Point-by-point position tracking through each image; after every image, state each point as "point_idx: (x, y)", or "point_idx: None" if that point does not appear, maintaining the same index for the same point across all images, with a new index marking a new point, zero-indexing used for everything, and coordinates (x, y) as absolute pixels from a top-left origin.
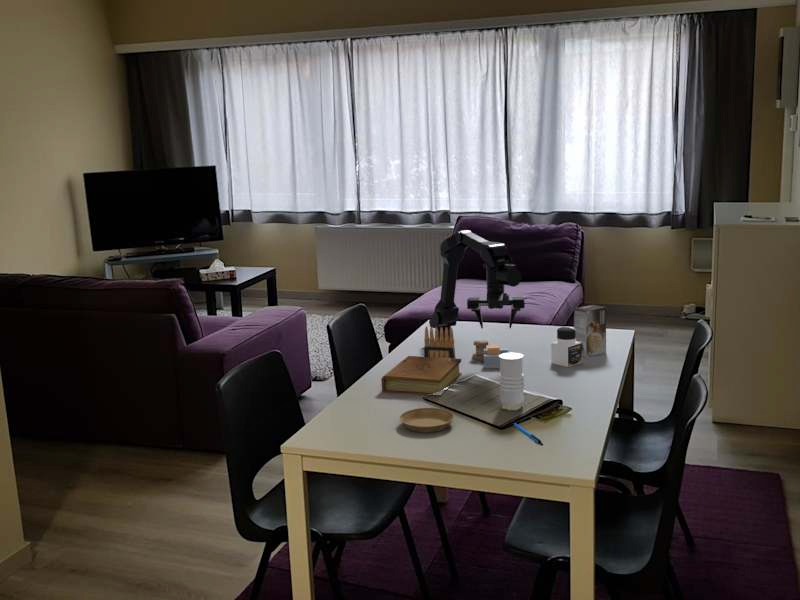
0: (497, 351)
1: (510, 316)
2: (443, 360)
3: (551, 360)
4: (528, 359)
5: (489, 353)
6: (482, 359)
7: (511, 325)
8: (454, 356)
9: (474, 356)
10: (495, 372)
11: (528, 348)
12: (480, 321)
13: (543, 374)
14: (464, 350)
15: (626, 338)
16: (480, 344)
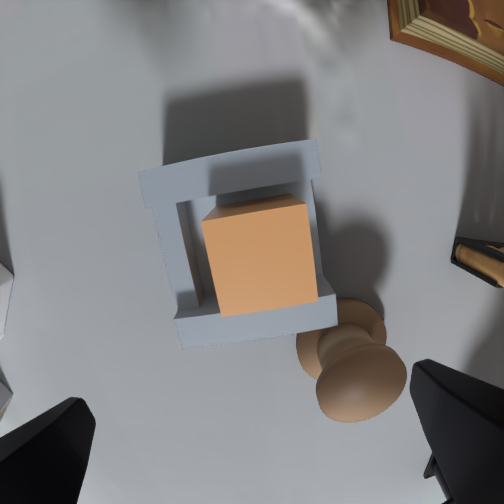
0: (222, 213)
1: (8, 496)
2: (488, 4)
3: (6, 280)
4: (106, 333)
5: (284, 200)
6: None
7: (47, 411)
8: (469, 256)
9: (376, 313)
10: (221, 71)
11: (161, 458)
12: (493, 399)
13: (15, 107)
14: (405, 414)
15: None
16: (367, 350)
